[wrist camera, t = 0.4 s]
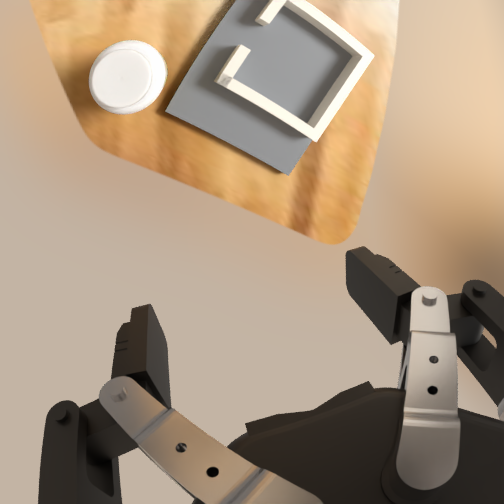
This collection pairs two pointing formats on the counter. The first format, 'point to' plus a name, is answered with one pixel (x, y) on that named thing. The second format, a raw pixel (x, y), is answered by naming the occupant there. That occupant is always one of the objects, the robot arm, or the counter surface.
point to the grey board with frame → (271, 79)
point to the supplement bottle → (127, 77)
